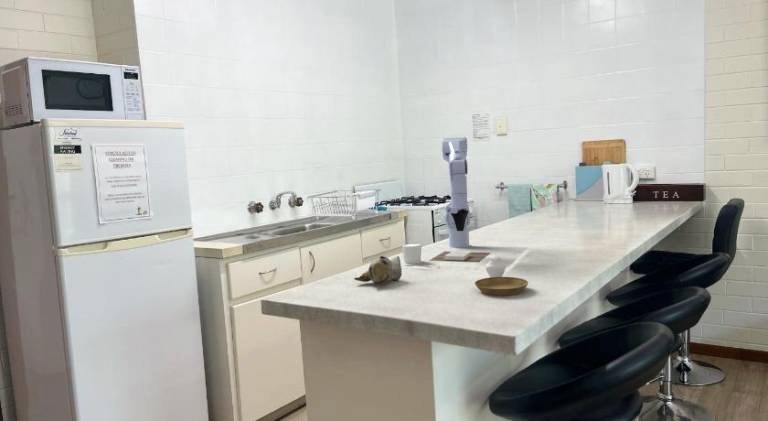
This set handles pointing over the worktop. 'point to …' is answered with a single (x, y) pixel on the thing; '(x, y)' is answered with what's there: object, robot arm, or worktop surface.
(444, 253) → the walnut board
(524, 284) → the plant saucer
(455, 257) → the glazed tile
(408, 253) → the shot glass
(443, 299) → the worktop surface
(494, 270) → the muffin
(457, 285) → the worktop surface
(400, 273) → the ceramic sculpture
